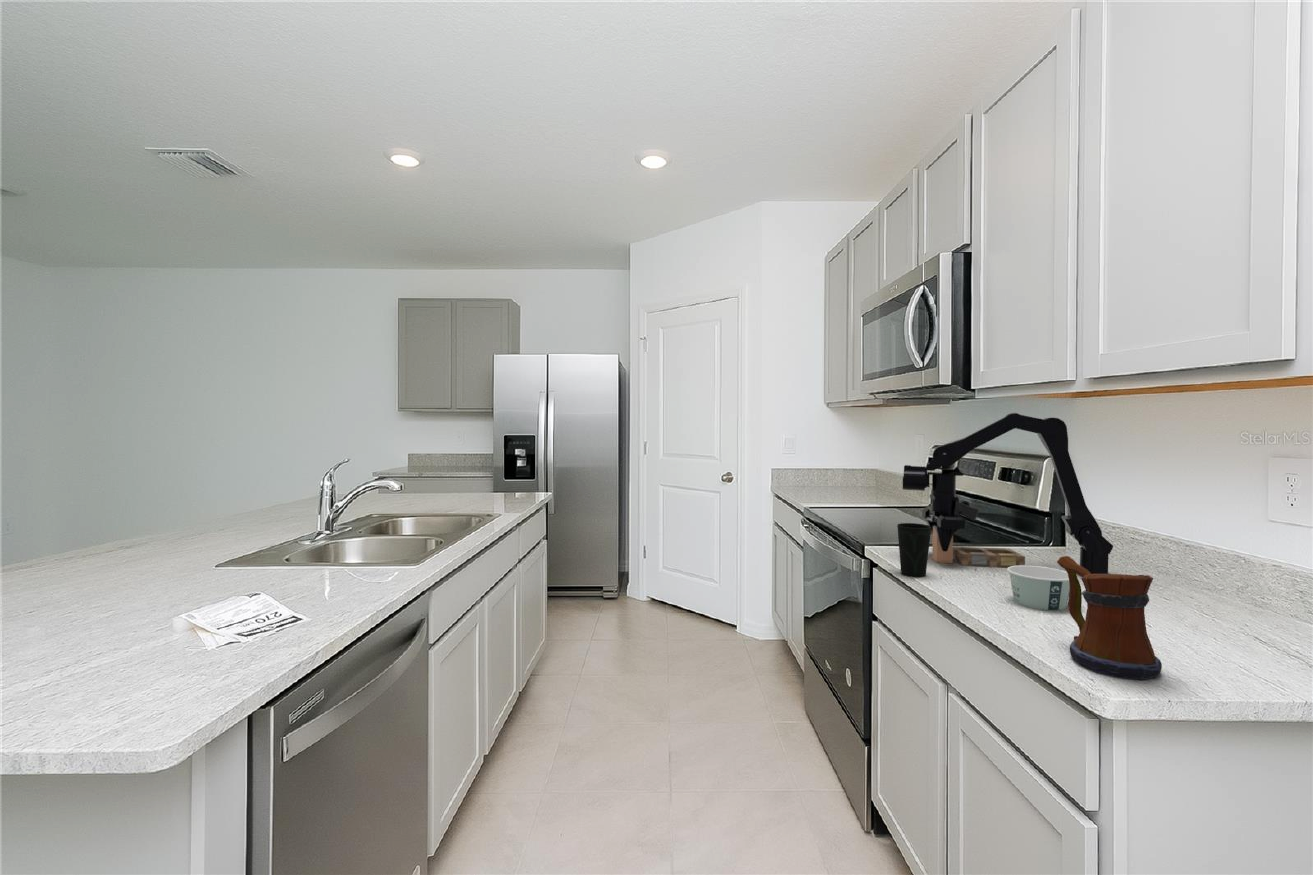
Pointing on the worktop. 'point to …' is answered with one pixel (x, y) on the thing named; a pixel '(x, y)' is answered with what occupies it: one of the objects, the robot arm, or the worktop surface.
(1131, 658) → the mug
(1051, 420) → the robot arm
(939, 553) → the tan rectangular block
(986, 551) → the socket block
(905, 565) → the cup
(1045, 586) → the food container
